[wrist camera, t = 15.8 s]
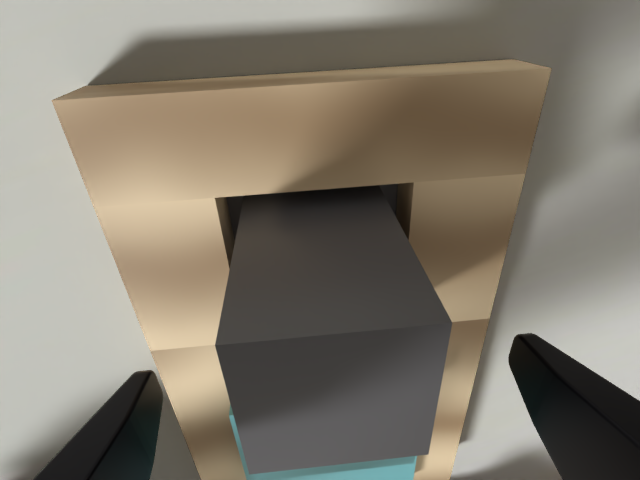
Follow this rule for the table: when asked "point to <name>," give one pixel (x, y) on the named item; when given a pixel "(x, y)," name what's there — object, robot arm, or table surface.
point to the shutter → (337, 468)
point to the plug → (329, 332)
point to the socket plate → (303, 175)
